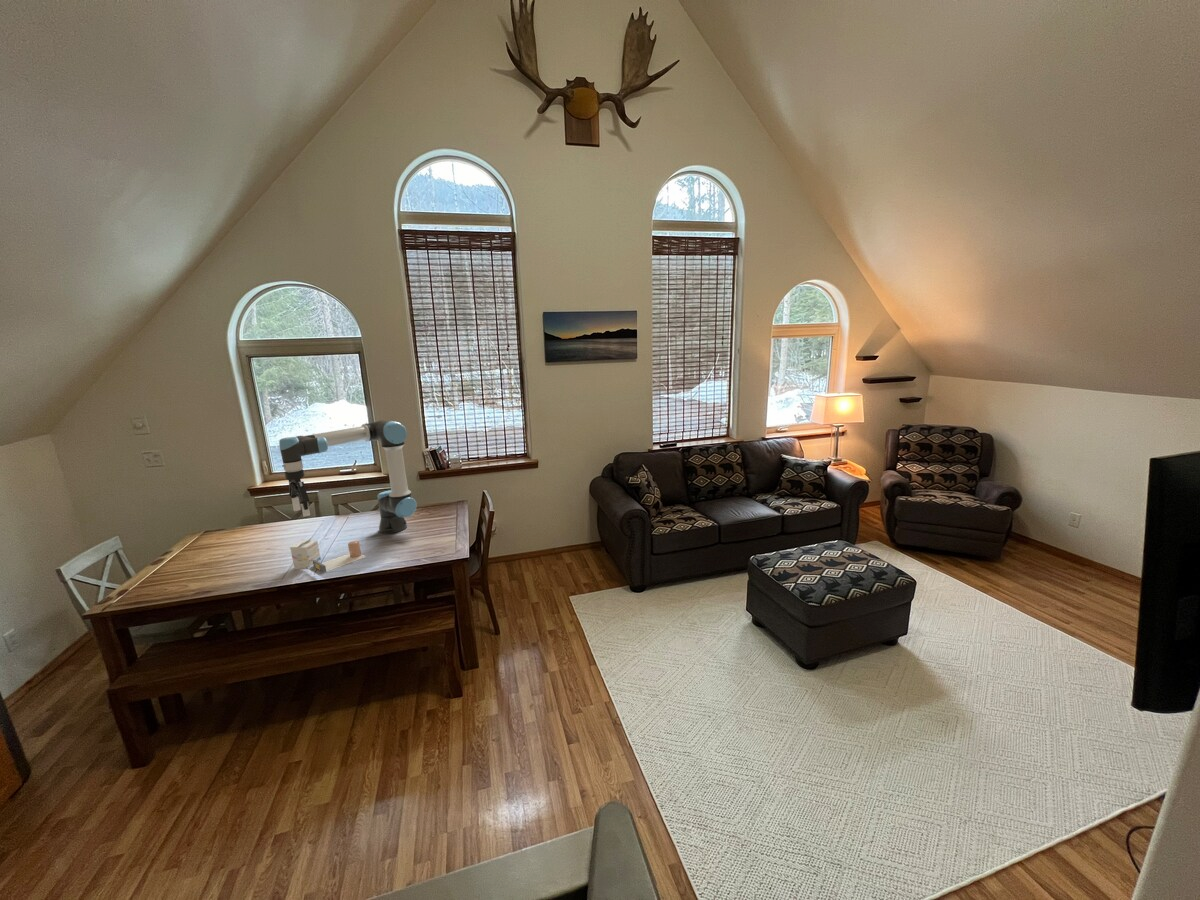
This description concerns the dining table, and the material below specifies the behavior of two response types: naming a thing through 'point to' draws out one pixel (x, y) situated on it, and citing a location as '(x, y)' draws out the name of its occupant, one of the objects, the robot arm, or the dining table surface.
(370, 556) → the dining table surface
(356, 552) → the tan glossy oval piece
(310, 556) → the ink box
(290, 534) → the dining table surface
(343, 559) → the shelf board
